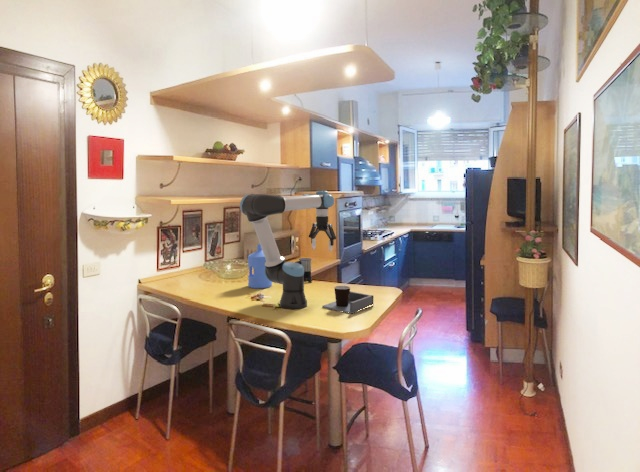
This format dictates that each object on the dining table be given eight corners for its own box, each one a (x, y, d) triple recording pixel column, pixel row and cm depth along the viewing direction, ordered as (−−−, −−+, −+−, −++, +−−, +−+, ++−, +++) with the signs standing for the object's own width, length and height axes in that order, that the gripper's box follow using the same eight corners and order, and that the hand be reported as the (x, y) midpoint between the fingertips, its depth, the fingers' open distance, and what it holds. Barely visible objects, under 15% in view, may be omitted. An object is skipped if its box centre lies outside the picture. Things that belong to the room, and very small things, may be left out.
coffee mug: (346, 308, 228) (346, 289, 226) (331, 306, 232) (331, 288, 230) (354, 303, 238) (354, 285, 237) (340, 301, 242) (340, 284, 241)
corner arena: (352, 314, 220) (352, 302, 219) (322, 307, 233) (322, 296, 232) (373, 306, 235) (373, 295, 235) (344, 300, 248) (344, 290, 247)
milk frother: (305, 277, 314) (305, 257, 312) (321, 280, 304) (321, 259, 302) (291, 280, 303) (291, 259, 302) (307, 283, 293) (307, 262, 291)
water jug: (274, 283, 291) (273, 243, 288) (269, 289, 276) (268, 246, 273) (251, 283, 293) (251, 243, 290) (245, 288, 277) (244, 246, 274)
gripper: (342, 216, 259) (341, 251, 261) (310, 214, 274) (310, 247, 277) (334, 216, 253) (334, 252, 255) (303, 215, 269) (303, 248, 271)
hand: (322, 249), depth 266 cm, fingers open, 13 cm apart
